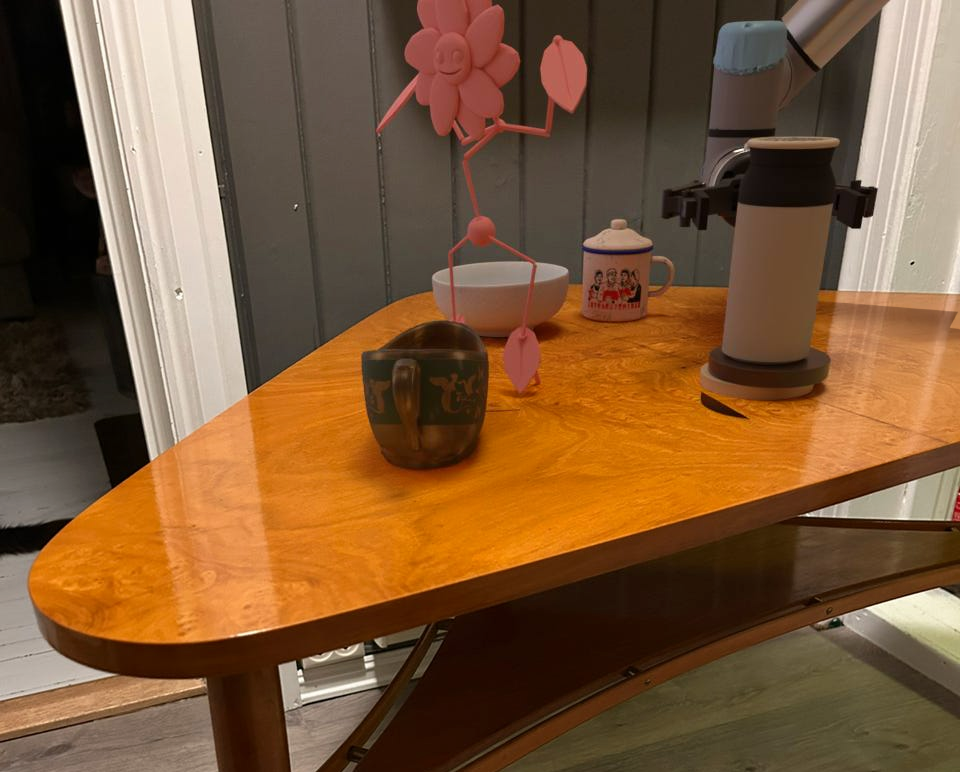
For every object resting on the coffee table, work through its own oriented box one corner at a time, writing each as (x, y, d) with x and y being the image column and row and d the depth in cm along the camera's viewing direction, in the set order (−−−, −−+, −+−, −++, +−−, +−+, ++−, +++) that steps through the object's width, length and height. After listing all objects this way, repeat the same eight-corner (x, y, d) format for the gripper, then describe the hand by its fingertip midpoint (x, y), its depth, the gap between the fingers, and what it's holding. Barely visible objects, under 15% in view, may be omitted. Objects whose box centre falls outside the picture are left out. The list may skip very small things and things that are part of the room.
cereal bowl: (513, 310, 129) (513, 255, 125) (595, 331, 117) (597, 271, 113) (409, 329, 120) (405, 271, 116) (486, 354, 108) (485, 290, 105)
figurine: (425, 355, 108) (406, -11, 90) (608, 395, 94) (629, -35, 75) (323, 385, 99) (279, -18, 81) (509, 434, 84) (506, -47, 66)
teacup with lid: (578, 322, 121) (582, 225, 115) (580, 307, 129) (583, 215, 123) (672, 323, 120) (681, 224, 114) (669, 308, 128) (676, 215, 122)
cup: (295, 467, 78) (279, 344, 73) (434, 404, 92) (429, 297, 87) (420, 497, 72) (412, 364, 66) (549, 425, 86) (550, 310, 81)
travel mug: (797, 370, 84) (832, 142, 74) (710, 360, 87) (733, 141, 78) (816, 349, 89) (851, 136, 80) (734, 341, 93) (758, 136, 84)
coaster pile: (779, 381, 96) (785, 336, 94) (846, 413, 87) (855, 364, 85) (678, 392, 94) (682, 347, 91) (736, 427, 84) (742, 377, 82)
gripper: (634, 152, 101) (643, 168, 83) (872, 148, 99) (935, 164, 81) (630, 227, 105) (637, 258, 87) (859, 225, 103) (916, 257, 85)
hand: (781, 213), depth 84 cm, fingers open, 13 cm apart
